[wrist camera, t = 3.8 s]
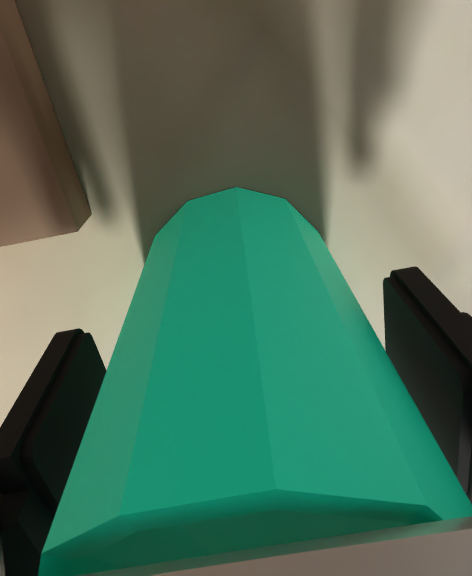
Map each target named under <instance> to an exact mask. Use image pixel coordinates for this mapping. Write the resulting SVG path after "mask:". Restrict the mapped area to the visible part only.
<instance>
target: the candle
mask: <svg viewBox="0 0 472 576" xmlns="http://www.w3.org/2000/svg"><path fill="white" fill-rule="evenodd" d="M470 516H472V504H471V502H470V500H469V499H468V497H467V495H466V493H465V492H464V490H463V488H462V486H461V484H460V483H459V481H458V479H457V477H456V476H455V474H454V472H453V470H452V468H451V467H450V465H449V463H448V461H447V460H446V458H445V456H444V454H443V452H442V451H441V449H440V447H439V445H438V444H437V442H436V440H435V438H434V436H433V435H432V433H431V431H430V429H429V428H428V426H427V424H426V422H425V421H424V419H423V417H422V415H421V413H420V412H419V410H418V408H417V406H416V405H415V403H414V401H413V399H412V397H411V396H410V394H409V392H408V390H407V389H406V387H405V385H404V383H403V381H402V380H401V378H400V376H399V374H398V373H397V371H396V369H395V367H394V366H393V364H392V362H391V360H390V358H389V357H388V355H387V353H386V351H385V350H384V348H383V346H382V344H381V342H380V341H379V339H378V337H377V335H376V334H375V332H374V330H373V328H372V326H371V325H370V323H369V321H368V319H367V318H366V316H365V314H364V312H363V310H362V309H361V307H360V305H359V303H358V302H357V300H356V298H355V296H354V295H353V293H352V291H351V289H350V287H349V286H348V284H347V282H346V280H345V279H344V277H343V275H342V273H341V271H340V270H339V268H338V266H337V264H336V263H335V261H334V259H333V257H332V255H331V254H330V252H329V250H328V248H327V247H326V245H325V243H324V241H323V239H322V238H321V236H320V234H319V232H318V231H317V230H316V229H315V228H314V227H313V226H312V225H311V224H310V223H309V222H308V221H307V220H306V219H305V218H304V217H303V216H302V215H301V214H300V213H299V212H298V211H297V210H296V209H295V208H294V207H293V206H292V205H291V204H290V203H289V202H288V201H287V200H286V199H284V198H280V197H276V196H272V195H268V194H264V193H259V192H255V191H251V190H247V189H243V188H239V187H234V188H231V189H227V190H224V191H220V192H217V193H213V194H210V195H206V196H203V197H199V198H196V199H193V200H189V201H187V202H186V203H185V204H184V205H183V206H182V207H181V208H180V209H179V211H178V212H177V213H176V214H175V215H174V216H173V217H172V218H171V219H170V220H169V221H168V222H167V223H166V224H165V225H164V227H163V228H162V229H161V230H160V231H159V232H158V233H157V234H156V235H155V237H154V240H153V243H152V245H151V248H150V251H149V254H148V257H147V259H146V262H145V265H144V268H143V271H142V273H141V276H140V279H139V282H138V285H137V287H136V290H135V293H134V296H133V299H132V301H131V304H130V307H129V310H128V313H127V315H126V318H125V321H124V324H123V327H122V329H121V332H120V335H119V338H118V341H117V343H116V346H115V349H114V352H113V355H112V357H111V360H110V363H109V366H108V369H107V371H106V374H105V377H104V380H103V383H102V385H101V388H100V391H99V394H98V397H97V399H96V402H95V405H94V408H93V411H92V413H91V416H90V419H89V422H88V425H87V427H86V430H85V433H84V436H83V438H82V441H81V444H80V447H79V450H78V452H77V455H76V458H75V461H74V464H73V466H72V469H71V472H70V475H69V478H68V480H67V483H66V486H65V489H64V492H63V494H62V497H61V500H60V503H59V506H58V508H57V511H56V514H55V517H54V520H53V522H52V525H51V528H50V531H49V534H48V536H47V539H46V542H45V545H44V548H43V550H42V553H41V559H40V566H39V572H38V576H78V575H85V574H91V573H97V572H104V571H110V570H116V569H122V568H129V567H135V566H141V565H148V564H154V563H161V562H167V561H174V560H180V559H187V558H193V557H200V556H206V555H213V554H219V553H226V552H233V551H239V550H246V549H252V548H259V547H266V546H272V545H279V544H285V543H292V542H299V541H305V540H312V539H318V538H325V537H332V536H339V535H346V534H353V533H359V532H366V531H373V530H380V529H387V528H394V527H400V526H407V525H414V524H421V523H428V522H435V521H441V520H448V519H455V518H462V517H470Z"/></svg>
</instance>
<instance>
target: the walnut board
mask: <svg viewBox="0 0 472 576" xmlns="http://www.w3.org/2000/svg"><path fill="white" fill-rule="evenodd" d="M90 216H91V211H90V208H89V206H88V203H87V200H86V197H85V195H84V192H83V189H82V186H81V183H80V181H79V178H78V175H77V172H76V170H75V167H74V164H73V161H72V158H71V156H70V153H69V150H68V147H67V144H66V142H65V139H64V136H63V133H62V131H61V128H60V125H59V122H58V119H57V117H56V114H55V111H54V108H53V106H52V103H51V100H50V97H49V94H48V92H47V89H46V86H45V83H44V80H43V78H42V75H41V72H40V69H39V67H38V64H37V61H36V58H35V55H34V53H33V50H32V47H31V44H30V41H29V39H28V36H27V33H26V30H25V28H24V25H23V22H22V19H21V16H20V14H19V11H18V8H17V5H16V3H15V0H0V247H2V246H7V245H12V244H17V243H22V242H27V241H32V240H37V239H42V238H47V237H52V236H57V235H62V234H67V233H73V232H78V231H79V229H80V228H81V227H82V226H83V224H84V223H85V222H86V221H87V219H88V218H89V217H90Z"/></svg>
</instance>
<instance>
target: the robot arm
mask: <svg viewBox="0 0 472 576" xmlns="http://www.w3.org/2000/svg"><path fill="white" fill-rule="evenodd" d="M383 295H384V321H385V348H386V353H387V355H388V357H389V358H390V360H391V362H392V364H393V366H394V367H395V369H396V371H397V373H398V374H399V376H400V378H401V380H402V381H403V383H404V385H405V387H406V389H407V390H408V392H409V394H410V396H411V397H412V399H413V401H414V403H415V405H416V406H417V408H418V410H419V412H420V413H421V415H422V417H423V419H424V421H425V422H426V424H427V426H428V428H429V429H430V431H431V433H432V435H433V436H434V438H435V440H436V442H437V444H438V445H439V447H440V449H441V451H442V452H443V454H444V456H445V458H446V460H447V461H448V463H449V465H450V467H451V468H452V470H453V472H454V474H455V476H456V477H457V479H458V481H459V483H460V484H461V486H462V488H463V490H464V492H465V493H466V495H467V497H468V499H469V500H470V502H471V504H472V317H471V316H470V315H469V314H468V313H464V312H461V313H460V311H459V310H458V309H457V308H456V307H455V306H454V305H453V304H452V303H451V302H450V301H449V300H448V299H447V298H446V297H445V296H444V295H443V294H442V293H441V291H440V290H439V289H438V288H437V287H436V286H435V285H434V284H433V283H432V282H431V281H430V280H429V279H428V278H427V277H426V276H425V275H424V274H423V272H422V271H421V270H420V269H419V268H418V267H410V268H404V269H399V270H393V271H391V274H390V277H388V278H384V280H383ZM105 374H106V369H105V366H104V364H103V361H102V359H101V356H100V354H99V352H98V349H97V347H96V344H95V342H94V340H93V337H92V335H91V334H90V333H84V332H83V330H82V329H74V330H68V331H63V332H58V333H56V334H55V335H54V337H53V339H52V340H51V342H50V344H49V345H48V347H47V349H46V350H45V352H44V354H43V356H42V357H41V359H40V361H39V362H38V364H37V366H36V367H35V369H34V371H33V373H32V374H31V376H30V378H29V379H28V381H27V383H26V384H25V386H24V388H23V390H22V391H21V393H20V395H19V396H18V398H17V400H16V402H15V403H14V405H13V407H12V408H11V410H10V412H9V413H8V415H7V417H6V419H5V420H4V422H3V424H2V425H1V427H0V576H38V572H39V566H40V559H41V553H42V550H43V548H44V545H45V542H46V539H47V536H48V534H49V531H50V528H51V525H52V522H53V520H54V517H55V514H56V511H57V508H58V506H59V503H60V500H61V497H62V494H63V492H64V489H65V486H66V483H67V480H68V478H69V475H70V472H71V469H72V466H73V464H74V461H75V458H76V455H77V452H78V450H79V447H80V444H81V441H82V438H83V436H84V433H85V430H86V427H87V425H88V422H89V419H90V416H91V413H92V411H93V408H94V405H95V402H96V399H97V397H98V394H99V391H100V388H101V385H102V383H103V380H104V377H105ZM78 576H472V516H470V517H462V518H455V519H448V520H441V521H435V522H428V523H421V524H414V525H407V526H400V527H394V528H387V529H380V530H373V531H366V532H359V533H353V534H346V535H339V536H332V537H325V538H318V539H312V540H305V541H299V542H292V543H285V544H279V545H272V546H266V547H259V548H252V549H246V550H239V551H233V552H226V553H219V554H213V555H206V556H200V557H193V558H187V559H180V560H174V561H167V562H161V563H154V564H148V565H141V566H135V567H129V568H122V569H116V570H110V571H104V572H97V573H91V574H85V575H78Z"/></svg>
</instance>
